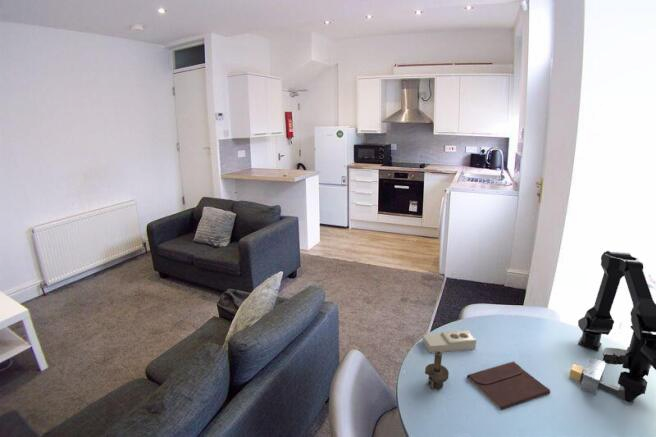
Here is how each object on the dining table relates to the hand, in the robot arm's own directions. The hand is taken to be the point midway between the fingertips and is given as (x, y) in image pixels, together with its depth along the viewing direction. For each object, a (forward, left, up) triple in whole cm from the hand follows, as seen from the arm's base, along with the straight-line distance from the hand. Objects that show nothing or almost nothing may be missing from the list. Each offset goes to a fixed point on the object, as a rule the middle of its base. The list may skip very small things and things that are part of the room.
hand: (629, 393), depth 115 cm
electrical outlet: (+14, -53, -2) cm, 55 cm away
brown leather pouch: (+21, -29, -2) cm, 36 cm away
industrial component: (+38, -46, -2) cm, 59 cm away
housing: (0, -9, -2) cm, 10 cm away
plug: (0, -7, -2) cm, 7 cm away
